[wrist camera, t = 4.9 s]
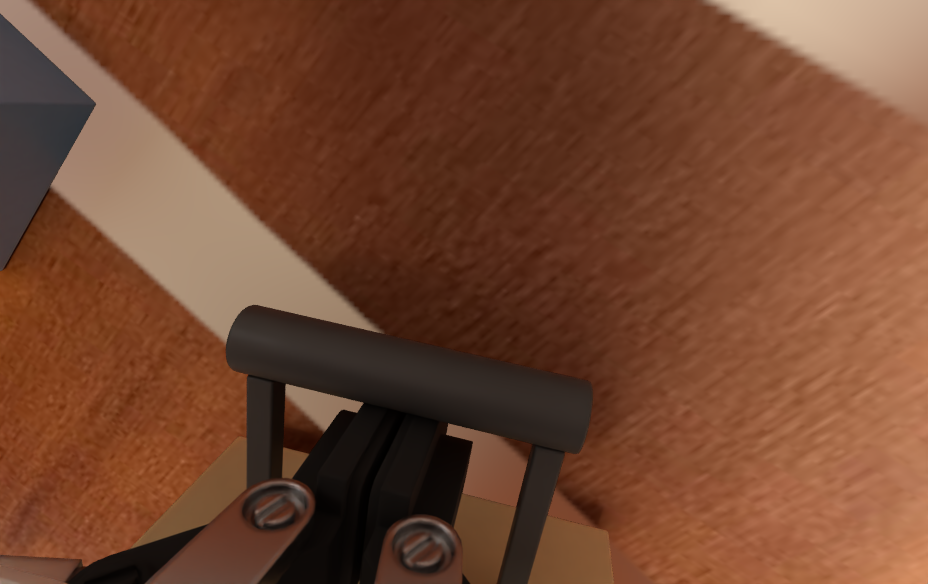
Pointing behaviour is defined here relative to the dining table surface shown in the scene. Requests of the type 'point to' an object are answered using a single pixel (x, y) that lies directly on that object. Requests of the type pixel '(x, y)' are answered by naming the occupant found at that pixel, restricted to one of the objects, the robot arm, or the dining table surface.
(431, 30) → the dining table surface
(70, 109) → the block
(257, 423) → the drawer
